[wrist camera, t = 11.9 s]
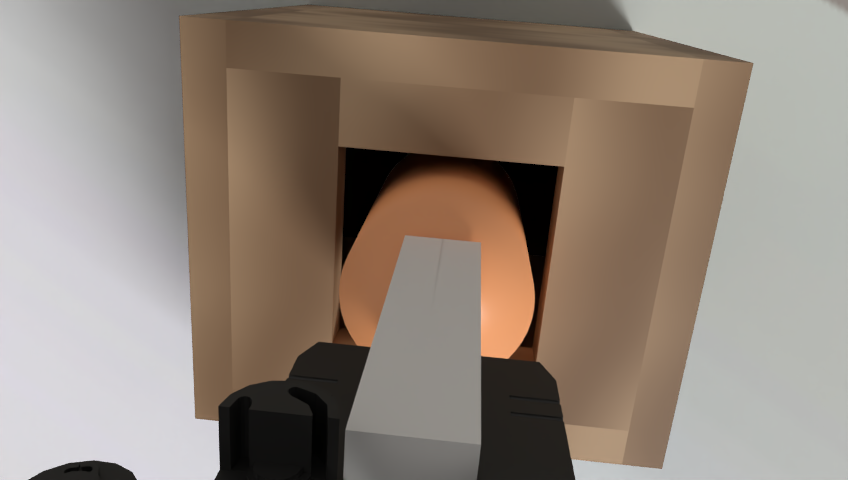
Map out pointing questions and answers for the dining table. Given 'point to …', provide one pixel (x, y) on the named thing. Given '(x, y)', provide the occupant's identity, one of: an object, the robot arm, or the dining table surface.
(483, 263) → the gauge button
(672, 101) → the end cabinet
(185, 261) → the dining table surface
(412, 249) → the robot arm
